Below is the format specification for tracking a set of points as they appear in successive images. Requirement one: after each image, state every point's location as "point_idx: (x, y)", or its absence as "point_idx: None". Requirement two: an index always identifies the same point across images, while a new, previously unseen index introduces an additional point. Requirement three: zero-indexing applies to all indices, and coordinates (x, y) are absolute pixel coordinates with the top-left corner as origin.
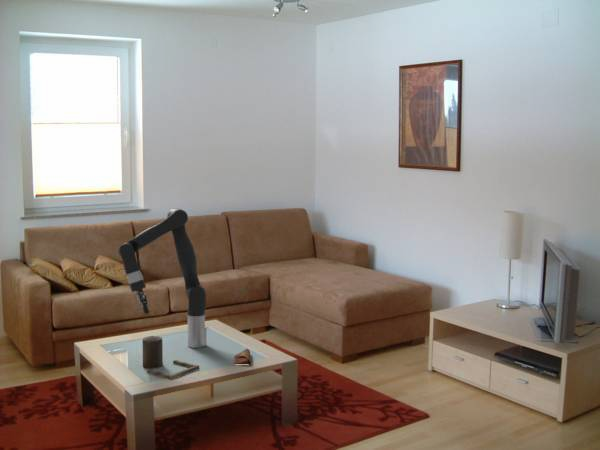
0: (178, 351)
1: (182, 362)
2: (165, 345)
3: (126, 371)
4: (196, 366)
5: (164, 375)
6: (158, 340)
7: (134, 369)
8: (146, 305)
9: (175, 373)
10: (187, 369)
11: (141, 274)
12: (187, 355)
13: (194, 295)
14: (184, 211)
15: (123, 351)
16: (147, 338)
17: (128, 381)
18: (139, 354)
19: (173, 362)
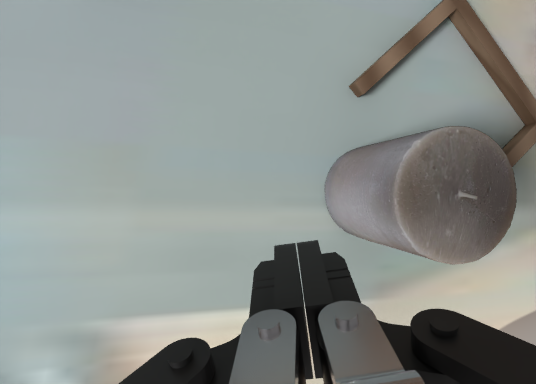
0: (163, 45)
1: (401, 54)
2: (16, 104)
3: (418, 303)
4: (465, 2)
5: (525, 149)
6: (505, 156)
7: (401, 271)
8: (363, 318)
9: (527, 104)
10: (492, 47)
11: None
12: (246, 10)
13: None
14: None
15: (99, 346)
16: (459, 230)
17: (527, 287)
18: (177, 256)
19: (360, 95)
